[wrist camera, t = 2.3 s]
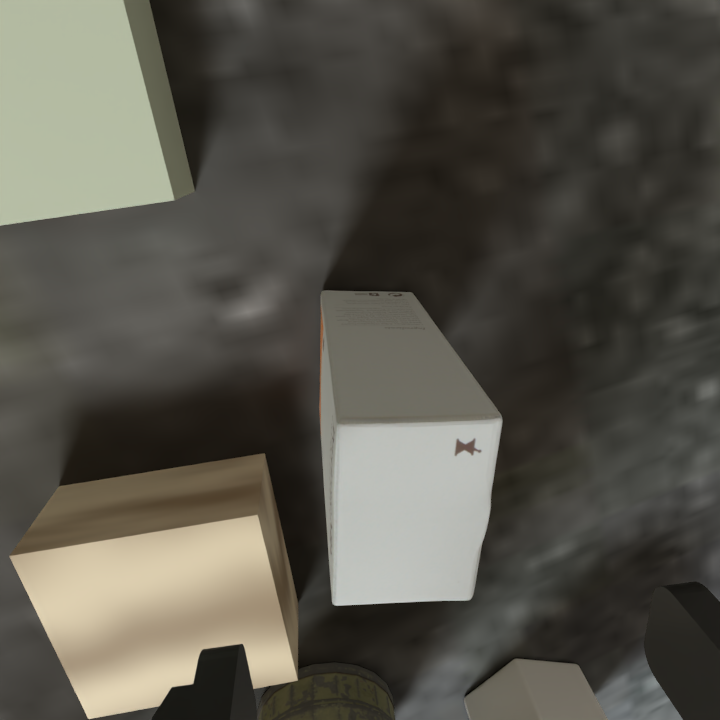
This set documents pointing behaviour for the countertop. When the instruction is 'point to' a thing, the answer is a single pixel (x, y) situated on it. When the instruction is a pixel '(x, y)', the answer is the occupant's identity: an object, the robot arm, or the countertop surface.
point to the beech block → (162, 580)
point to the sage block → (85, 110)
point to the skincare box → (401, 453)
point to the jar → (535, 693)
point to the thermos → (329, 695)
